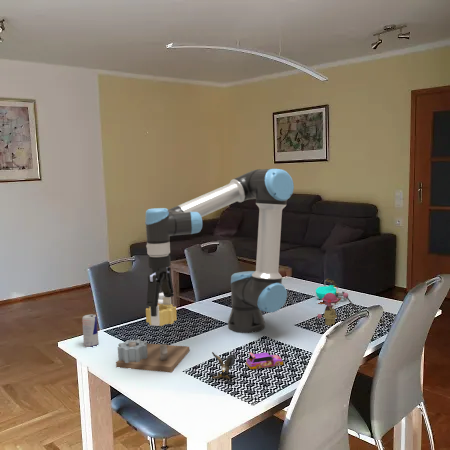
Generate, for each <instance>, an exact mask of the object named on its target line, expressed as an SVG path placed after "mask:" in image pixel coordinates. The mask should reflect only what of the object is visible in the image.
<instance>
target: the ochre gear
mask: <svg viewBox="0 0 450 450" xmlns="http://www.w3.org/2000/svg"><path fill="white" fill-rule="evenodd" d="M157 306H159V319H160V325H159V327H163V326H164V325H169V324H170V325H172V324H174V322H175V321H177V320H178V319H177V306H174V304H172V303H171V304H169V305H163V304H159V305H157ZM145 317H146V318H145V321H146V322H145V323H148V324H149V326H152V325H151V311H150V306H148V307H146V308H145Z"/></svg>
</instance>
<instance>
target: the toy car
mask: <svg viewBox="0 0 450 450" xmlns="http://www.w3.org/2000/svg"><path fill="white" fill-rule="evenodd" d="M245 360H246V361H245V365H246V366H247V367H248V368H249V369H250V370H261V368H262V369H263V368H264V369H266V368H271V367H280V366H282V365H283V366H284V361H283V359H282V357H280V355H278V354H269V353H268V352H260V353H253V352H249V356H248V358H246V359H245Z"/></svg>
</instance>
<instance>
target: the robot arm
mask: <svg viewBox="0 0 450 450" xmlns="http://www.w3.org/2000/svg"><path fill="white" fill-rule="evenodd" d="M294 186H295V185H294V181H293V177H291V175H290V174H289V172H287V171H286V170H285V169H281V168H280V169H279V168H262V169H260V168H259V169H253V170H251V171H249V172H246V173H243V174H242V175H239V176H238V177H237V176H236V177H234V178H232V179H231V180H230V182H229V183H227V184H225V185H224V186H221V187H218V188H215V189H213V190H211V191H209V192H206V193H204V194H202V195H200V196H197V197H195V198H192V199H191V200H187V201H186V202H183V203H181V204H178V205H177V206H173V207H171V208H169V209H168V208H166V207H158V208H157V207H156V208H154V207H153V208H148V209H147V210H146V211H145V232H146V233H145V234H146V235H145V236H146V245H145V247H146V251H147V252H146V253H147V267H148V268H149V269H152V270H151V274H148V275H147V294H146V306H147V307H149V306H150V311H151V325H150V326H155V327H160V319H159V306H157V305H158V299H159V293H161V290H162V293H163V294H164V296H165V297H163V305H169V304H172V297H174V287H173V286H174V285H173V281H172V274H171V273H172V272H171V269H172V268H171V265H172V264H171V255H170V254H171V242H170V237H174V236H182V235H183V236H185V235H193V234H198V233H200V232H201V230H202V229H203V217H205V216H208V215H209V214H212V213H214V212H216V211H218V210H221V209H223V208H225V207H228V206H230V205H231V204H234V203H236V202H238V203H242V202H244V201H247V200H255V205H256V206H257V207H258V210H259V213H258V228H257V247H256V261H255V263H256V265H255V270H248V271H240V272H235V273H232V275H231V276H230V291H231V292H230V293H231V297H230V298H231V311H230V315H229V317H228V322H227V325H228V328H227V329H228V330H230V331H232V332H234V333H238V334H241V333H242V334H252V333H257V332H260V331H262V330H264V329H265V327H266V325H265V324H266V323H265V318H264V316H263V312H266V313H271V314H272V313H275V312H278V311H280V310H281V308H282V307H283V306H284V305H285V303H286V301H287V299H288V298H287V297H288V291H287V289H286V287H285V286H284V285H283V284H282V283H283V277H282V275H281V274H280V271H279V268H280V266H279V265H280V248H281V233H282V232H281V231H282V215H283V209H285V207H286V206H287V201H288V199H290V198H291V196H292V195H293V193H294V189H295V187H294Z"/></svg>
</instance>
